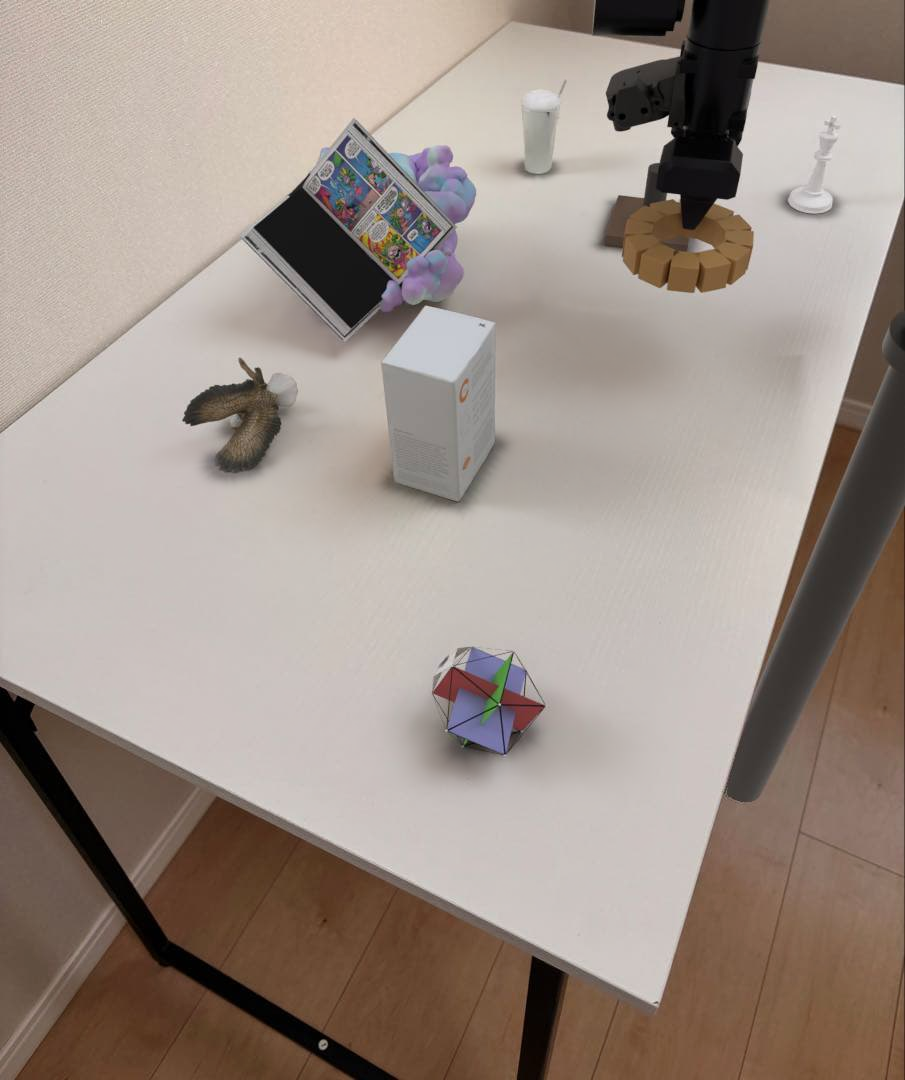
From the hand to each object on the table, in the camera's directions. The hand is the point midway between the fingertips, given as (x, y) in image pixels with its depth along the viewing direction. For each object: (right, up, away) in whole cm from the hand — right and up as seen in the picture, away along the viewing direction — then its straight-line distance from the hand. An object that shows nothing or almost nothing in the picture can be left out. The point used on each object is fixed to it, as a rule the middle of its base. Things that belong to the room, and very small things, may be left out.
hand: (690, 220), depth 84 cm
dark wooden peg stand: (+1, +6, +21) cm, 22 cm away
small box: (-22, -22, -3) cm, 31 cm away
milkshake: (-10, +17, +31) cm, 37 cm away
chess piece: (+20, +10, +24) cm, 33 cm away
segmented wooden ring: (-1, -4, -2) cm, 4 cm away
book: (-29, -2, +15) cm, 33 cm away
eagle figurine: (-40, -19, 0) cm, 44 cm away
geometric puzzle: (-19, -41, -20) cm, 50 cm away
